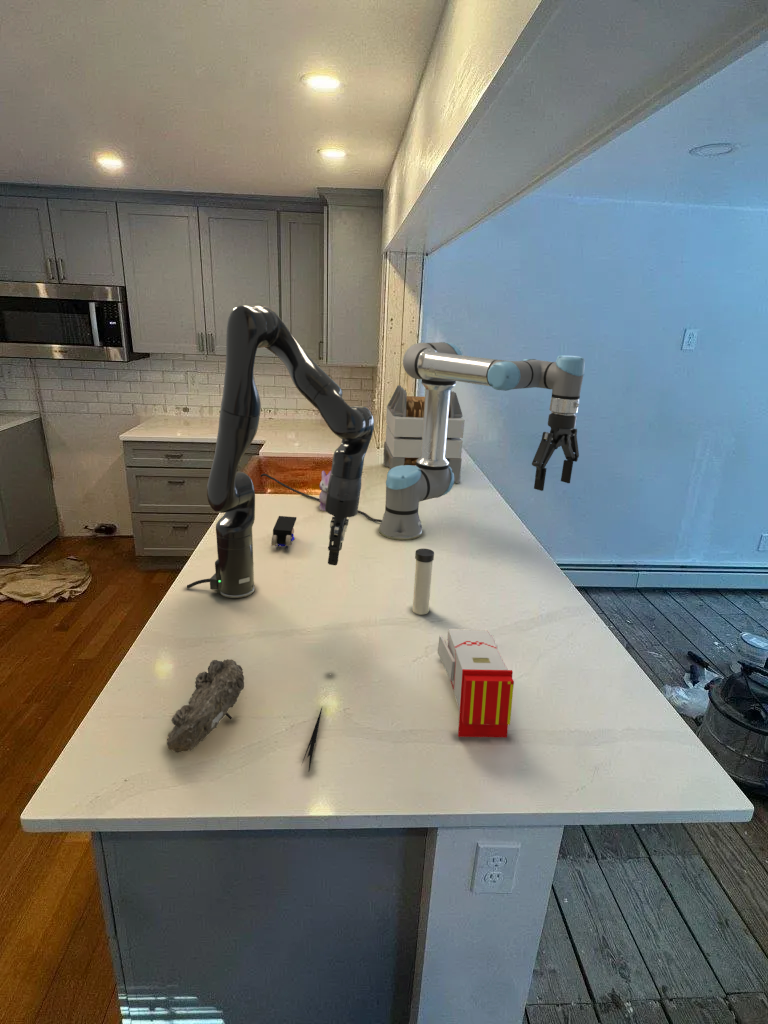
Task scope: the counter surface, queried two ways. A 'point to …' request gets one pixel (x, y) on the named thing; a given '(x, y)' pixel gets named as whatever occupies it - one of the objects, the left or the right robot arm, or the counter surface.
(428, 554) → the lid
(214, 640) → the counter surface
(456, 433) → the transformer
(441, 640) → the toy
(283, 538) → the figurine character
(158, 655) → the counter surface
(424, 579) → the white cylinder
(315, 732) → the feather
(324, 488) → the figurine
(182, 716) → the fossil
